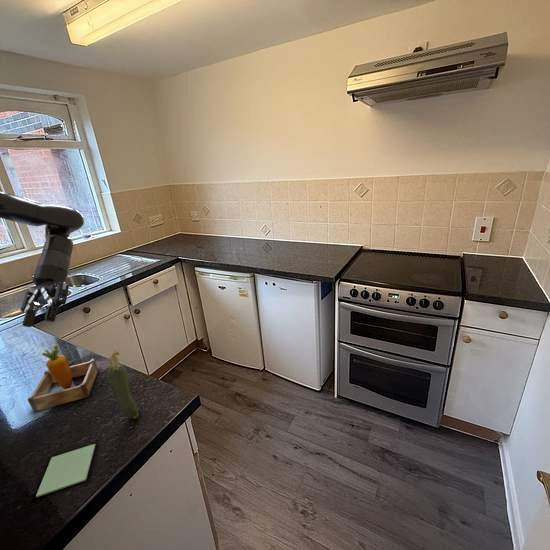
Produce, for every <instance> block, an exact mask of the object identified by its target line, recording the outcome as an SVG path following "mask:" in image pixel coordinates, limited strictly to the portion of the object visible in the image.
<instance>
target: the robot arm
mask: <svg viewBox="0 0 550 550" xmlns="http://www.w3.org/2000/svg"><path fill="white" fill-rule="evenodd" d="M0 219H3V220H7V221H10V222H15V223H19V224H23V225H26V226H32V227H42V226H44V237H45V240H44V244H43V247H42V251H41V254H40V256H39V258H38V259H37V263H36V267H35V270H34V274H33V276H32V283H33V284H34V285H35V289H34V290H33V291H30V290H27V291H26V292H25V295H24V298H23V301H22V304H21V307H20V309H19V310H20V312H23V313H24V317H23V320H22V323H21V325H22V326H23V327H26V328H32V327H33V325H34V323H35V320H36V316H37V315H36V314H37V312H38V311H39V309H42V308H43V307H44V306H45V305H46V304H48V306H47V308H46V310H45V311H46V312H45V315H44V321H45V322H49V323H52V322H53V323H54V322H55V320H56V318H57V314H58V310H59V309H60V308H61V306H64V305H66V303H67V299H68V294H69V289H70V285H69V284H67V279H68V275H69V271H70V268H71V267H70V265H71V258H72V254H73V251H74V241H73V240H72V239H71V238H70V235H71V234H72V233H74V232H76V231H79V230H80V229H81V228H82V227H83V226H84V224H85V219H84V216H83V214H82V213H81V212H79V211H78V210H76V209H75V208H72V207H70V206H66V205H61V204H53V203H42V202H38V201H36V200H32V199H28V198H26V197H22V196H19V195H16V194H15V195H14V194H11V193H7V192H2V191H0ZM60 297H61V298H60Z"/></svg>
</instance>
